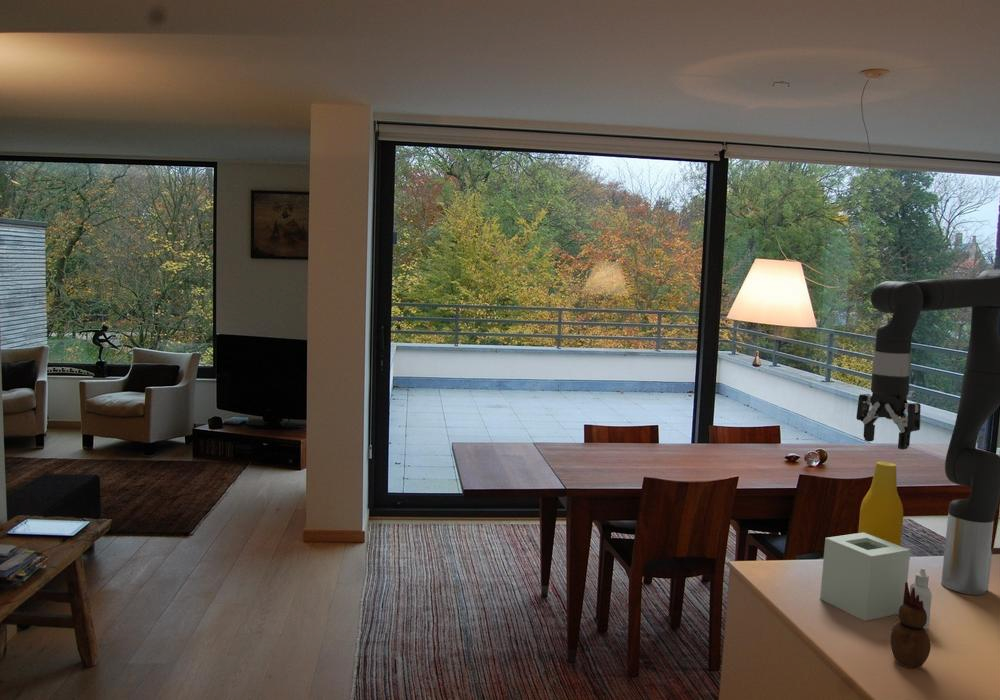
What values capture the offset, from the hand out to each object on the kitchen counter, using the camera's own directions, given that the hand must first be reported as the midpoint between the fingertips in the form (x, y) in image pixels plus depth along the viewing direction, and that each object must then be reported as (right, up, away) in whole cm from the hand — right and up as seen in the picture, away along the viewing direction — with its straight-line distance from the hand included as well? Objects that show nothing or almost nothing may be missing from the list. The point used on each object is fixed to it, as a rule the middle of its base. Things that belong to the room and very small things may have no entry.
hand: (885, 444), depth 176 cm
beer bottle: (+3, -34, +12) cm, 36 cm away
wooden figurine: (-9, -38, -28) cm, 48 cm away
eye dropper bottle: (+2, -37, -10) cm, 38 cm away
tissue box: (-6, -35, -2) cm, 36 cm away
